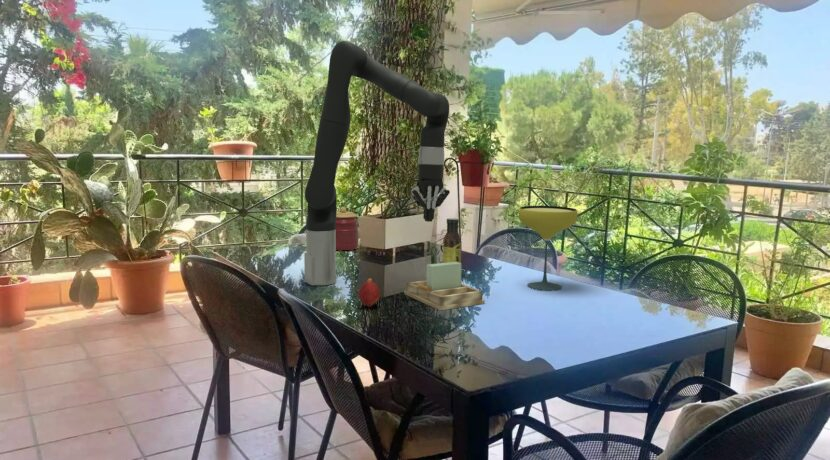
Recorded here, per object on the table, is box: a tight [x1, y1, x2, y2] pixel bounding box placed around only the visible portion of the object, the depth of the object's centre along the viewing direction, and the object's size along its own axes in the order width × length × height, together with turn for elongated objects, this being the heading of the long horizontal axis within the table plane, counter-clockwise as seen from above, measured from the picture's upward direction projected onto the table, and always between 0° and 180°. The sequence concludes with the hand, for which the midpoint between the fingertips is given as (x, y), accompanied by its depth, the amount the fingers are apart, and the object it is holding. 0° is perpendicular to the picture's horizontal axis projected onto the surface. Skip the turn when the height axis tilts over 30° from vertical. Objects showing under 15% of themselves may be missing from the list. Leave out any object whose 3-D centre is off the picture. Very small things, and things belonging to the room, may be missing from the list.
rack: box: [403, 280, 486, 311], centre depth 179 cm, size 15×20×4 cm
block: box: [425, 262, 462, 291], centre depth 179 cm, size 10×3×9 cm, turn 120°
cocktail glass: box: [518, 205, 579, 292], centre depth 194 cm, size 18×18×25 cm
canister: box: [336, 206, 359, 252], centre depth 258 cm, size 13×13×18 cm
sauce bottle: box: [442, 217, 462, 264], centre depth 207 cm, size 6×6×20 cm
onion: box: [358, 278, 381, 308], centre depth 169 cm, size 6×6×8 cm
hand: (428, 221), depth 183 cm, fingers closed
